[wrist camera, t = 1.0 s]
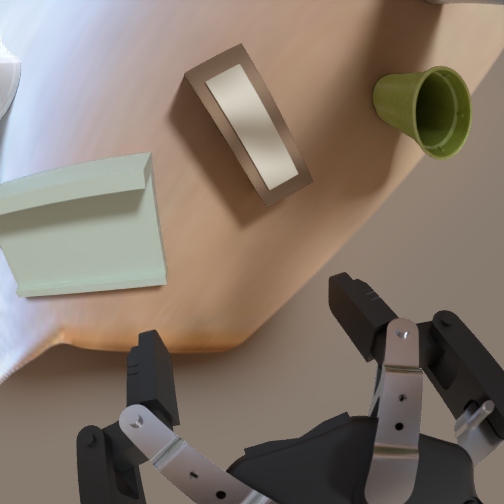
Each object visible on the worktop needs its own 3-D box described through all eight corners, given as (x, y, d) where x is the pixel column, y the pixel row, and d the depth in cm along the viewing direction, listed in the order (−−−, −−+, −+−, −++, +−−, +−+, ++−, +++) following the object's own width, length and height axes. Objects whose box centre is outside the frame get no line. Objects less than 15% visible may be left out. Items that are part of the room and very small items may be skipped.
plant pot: (426, 80, 25) (479, 92, 18) (408, 146, 30) (457, 170, 23) (370, 48, 23) (426, 48, 16) (350, 123, 27) (401, 143, 20)
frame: (184, 75, 22) (184, 73, 18) (232, 49, 21) (241, 43, 18) (255, 190, 30) (267, 208, 26) (296, 167, 29) (313, 182, 26)
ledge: (26, 282, 28) (10, 314, 24) (-9, 186, 21) (-36, 209, 16) (167, 267, 32) (166, 303, 27) (151, 151, 25) (143, 170, 20)
